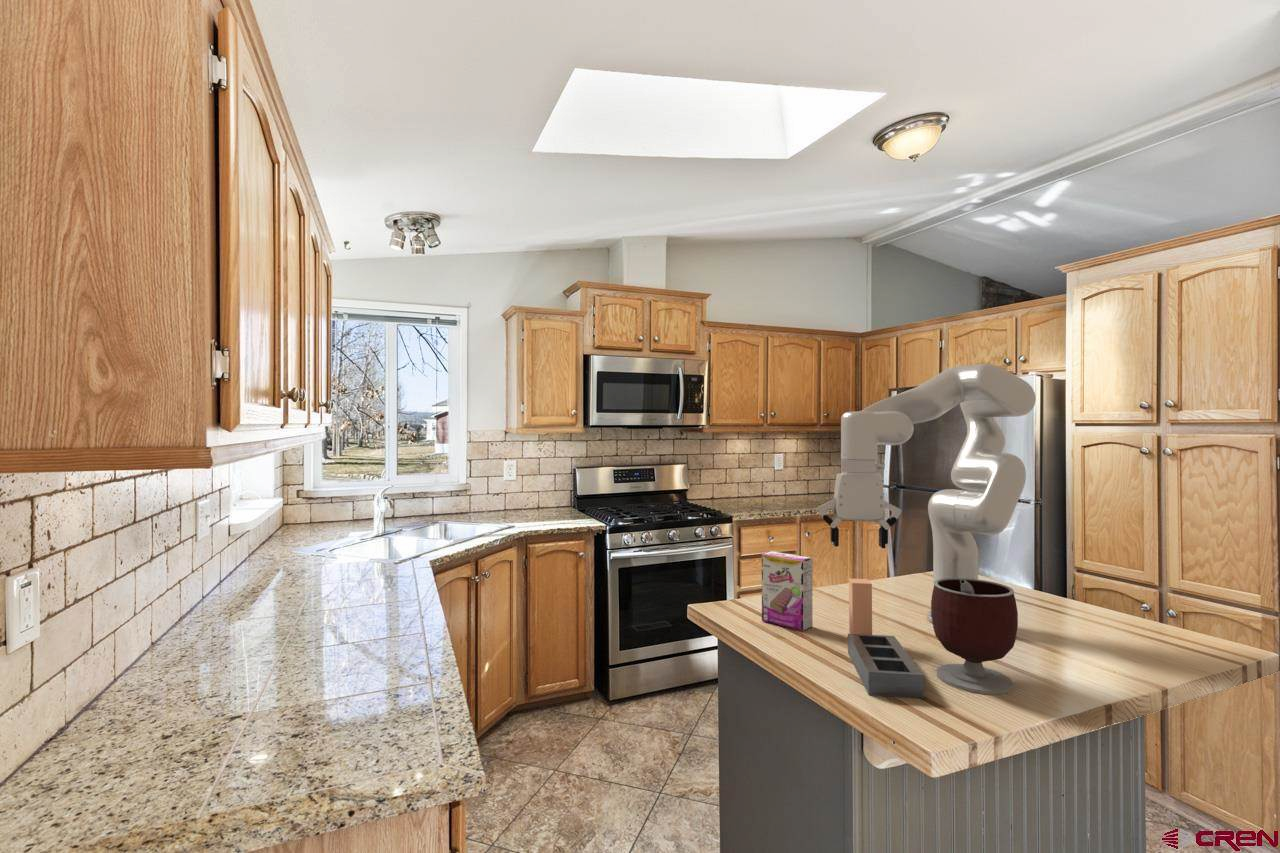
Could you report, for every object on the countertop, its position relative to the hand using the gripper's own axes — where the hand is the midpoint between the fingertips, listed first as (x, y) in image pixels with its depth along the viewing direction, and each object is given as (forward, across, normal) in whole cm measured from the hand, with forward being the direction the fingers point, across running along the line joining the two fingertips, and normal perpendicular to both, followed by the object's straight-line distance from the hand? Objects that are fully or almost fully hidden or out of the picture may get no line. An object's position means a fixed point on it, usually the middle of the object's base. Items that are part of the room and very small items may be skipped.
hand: (858, 546), depth 130 cm
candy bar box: (+21, +14, -9) cm, 27 cm away
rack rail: (+21, -1, +18) cm, 27 cm away
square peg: (+21, 0, 0) cm, 21 cm away
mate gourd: (+21, -16, +19) cm, 32 cm away
